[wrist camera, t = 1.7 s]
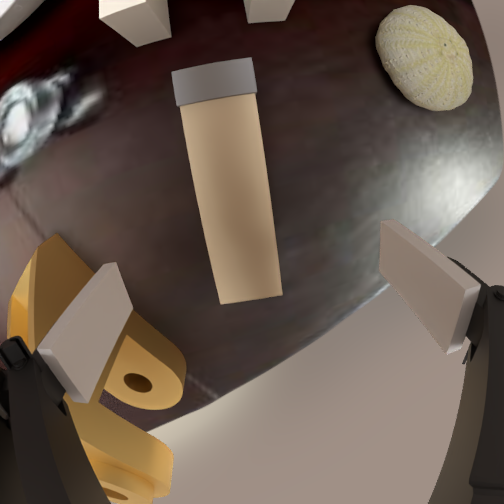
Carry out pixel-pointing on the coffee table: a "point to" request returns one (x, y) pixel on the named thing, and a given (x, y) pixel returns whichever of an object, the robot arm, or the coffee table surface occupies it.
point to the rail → (230, 177)
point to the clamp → (105, 377)
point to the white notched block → (157, 17)
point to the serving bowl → (15, 14)
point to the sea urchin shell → (425, 58)
